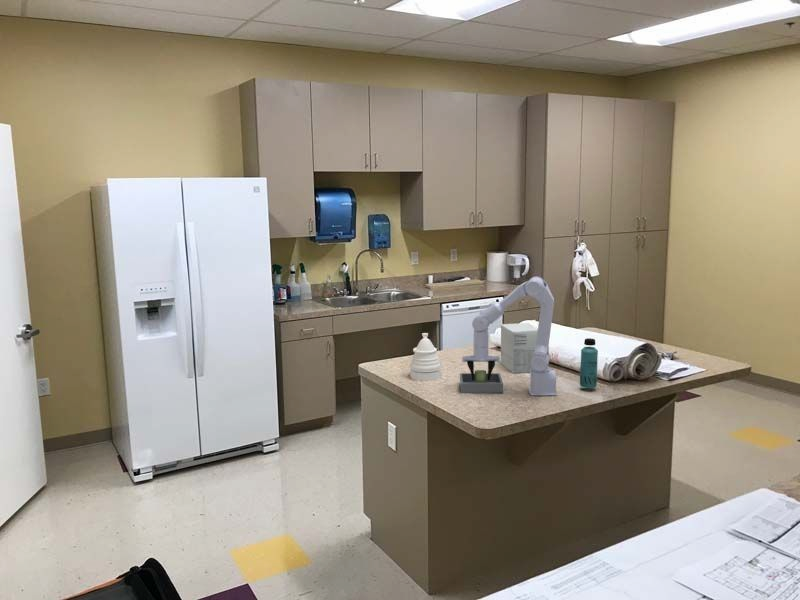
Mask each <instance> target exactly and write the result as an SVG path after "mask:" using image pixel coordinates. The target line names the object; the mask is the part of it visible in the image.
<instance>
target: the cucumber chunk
mask: <svg viewBox="0 0 800 600" xmlns="http://www.w3.org/2000/svg"><path fill="white" fill-rule="evenodd" d="M474 373H475V383H486V373H487V370H484V369H477V370H476V369H475V370H474Z"/></svg>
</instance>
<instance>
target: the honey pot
mask: <svg viewBox="0 0 800 600" xmlns="http://www.w3.org/2000/svg"><path fill="white" fill-rule="evenodd" d="M421 336H422V339H420V341H419V342H418V343H417V346H416V347H413V349H412V352H413V353H414V354H413V356H412V359H411V362H410V368H409V371H410V372H409V373H410V379H412V380H414V379H415V380H414V381H418V380H421V381H420V382H432V380H433V381H437V379H438V380H440V379H441V378H442V364H441V362H440V359H439V356H438V354H437V351H438V348H437V347H435V346H434V344H433V343H432V341H431V339H429V338H428V337H429V332H423V333H421Z"/></svg>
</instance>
